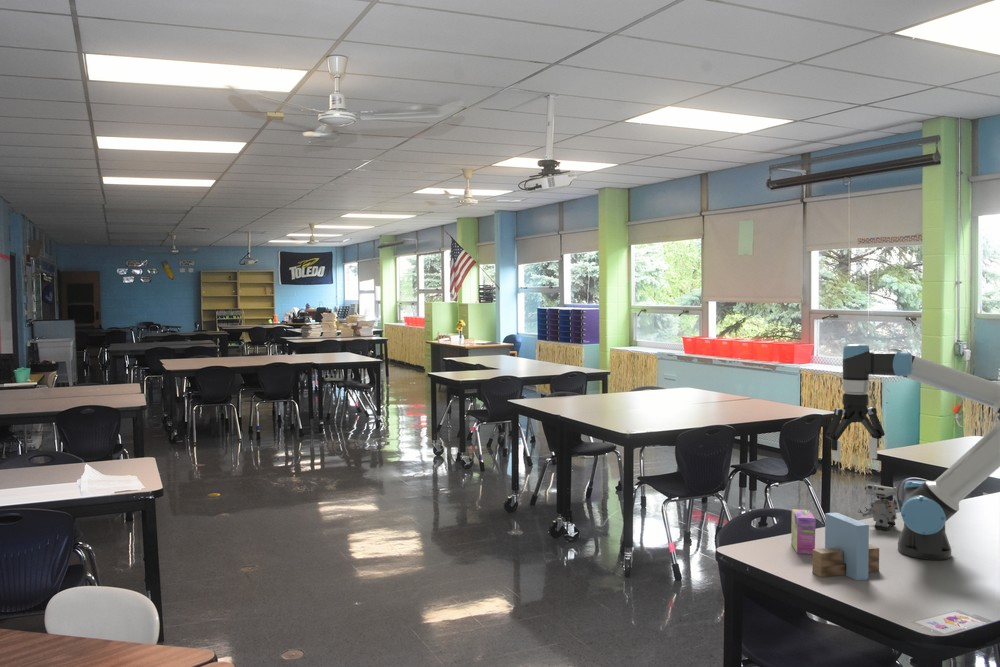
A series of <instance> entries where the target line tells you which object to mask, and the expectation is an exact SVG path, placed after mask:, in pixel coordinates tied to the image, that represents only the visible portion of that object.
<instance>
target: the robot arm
mask: <svg viewBox="0 0 1000 667" xmlns="http://www.w3.org/2000/svg"><path fill="white" fill-rule="evenodd" d="M870 376H891V377H892V376H893V377H903V378H906V379H910V380H912V381H914V382H918V383H921V384H924V385H926V386H929V387H932V388H934V389H938V390H941V391H943V392H947V393H949V394H952V395H955V396H957V397H960V398H963V399H967V400H969V401H971V402H975V403H978V404H980V405H983V406H986V407H989V408H991V409H993V411H994V412H995V413H996V414H999V415H998V416H996V418H995V420H996V422H995V424H996V425H995V426H994V427H993V428H991V430H989V431H988V432H987V433H986V434H985V435H984V436H983V437H982V438H981V439H980V440H978V441H977V442H976V443H975V444H974V445H972V447H970V449H968V450H967V451H966V452H965V453H964V454H962V455H961V456H960V457H959V458H958V459H957V460H956V461H955V462H954V463H953V464H952V465H950V466H949V468H947V469H946V470H944V471H943V473H942V474H941V475H940V476H938V477H937V478H936V479H934V480H926V481H924V480H906V481H905V482H904V487H903V491H904V496H903V497H904V498H903V502H902V505H901V507H900V515H901V519H902V521H903V528H902V530H901V534H900V536H899V539H898V541H897V551H898V552H899V553H901V554H902V555H905V556H908V557H912V558H916V559H920V560H921V559H922V560H930V561H931V560H932V561H943V560H949V559H950V558H952V546H951V545H950V542H949V539H948V536H947V533H946V522H947V521H948V520H949V519H951V517H953V516H954V515H955V514H956V513H958V512H959V510H960V502H961V501H963V499H965V498H966V497H967V496H968V495H969V494H970V493H972V492H973V491H975V489H976V488H978V487H979V485H981V484H982V483H983V482H984V481H985V480H987V479H988V478H989V477H990V476H991V475H992V474H993V473H994V472H996V471H997V470H998V469H999V468H1000V383H998V382H996V381H995V382H994V381H991V380H989V379H985V378H984V377H983V378H982V377H980V376H977V375H973V374H970V373H968V372H964V371H961V370H960V369H959V370H958V369H956V368H952V367H949V366H946V365H943V364H941V363H938V362H935V361H932V360H929V359H926V358H922V357H920V356H915V355H913V354H912V353H911V352H910V351H903V350H900V349H897V348H892V349H887V350H886V351H885V350H883V351H879V350H878V351H875V350H871V349H870V346H869V345H868V344H859V343H858V344H853V343H852V344H846V345H845V346H843V353H842V391H843V393H842V405H843V408H837V407H836V408H834V411H833V417H832V419H831V421H830V423H829V425H828V428H827V430H826V432H825V434H824V435H825V438H826V439H829V440H830V449H831V451H832V460H833V461H836V462H841V453H842V452H841V447H842V446H841V444H842V443H841V440H840V438H841V436H842V435H843V433H844V432H845V431H846V429H847V428H848V426H849V425H851V424H852V423H853V424H854V423H855V424H856V423H861V424H862V425H863V427H864V428H865V430H867V433H869V435H870V437H869V440H868V446H869V447H868V458H870V459H874V460H877V459H878V449H879V446H880V444H879V443H880V442H879V441H880V440H881V439H882V437H884V436H885V435H886V434H885V431H884V428H883V426H882V424H881V422H880V419H879V416H878V414H877V408H876V407H874V406H873V407H872V406H869V402H870V401H869V398H870V397H869V394H868V393H869V392H870V391H869V390H870V388H869V387H870V386H869V384H870V382H869V381H870V379H869V378H870ZM867 415H868V416H867Z"/></svg>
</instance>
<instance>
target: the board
mask: <svg viewBox="0 0 1000 667" xmlns="http://www.w3.org/2000/svg"><path fill="white" fill-rule="evenodd" d="M824 518H825V519H824V523H825V524H824V525H825V526H824V528H825V529H824V534H825V535H824V548H833V547H834V548H836V549H838V550H840V551H843V563H845V564H846V575H845V576H847V577H848V578H850V579H853V580H854V581H867V580H869V572H868V558H869V544H870V543H869V539H870V535H869V534H870V531H869V530H870V525H869V524H868V523H866V522H862V521H860V520H857V519H854V518H852V517H849V516H846V515H844V514H842V513H839V512H827V513H825V517H824Z"/></svg>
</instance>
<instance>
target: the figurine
mask: <svg viewBox="0 0 1000 667" xmlns="http://www.w3.org/2000/svg"><path fill="white" fill-rule="evenodd" d="M864 490H865V495H870V496H875V497H876V499H874V501H873V502H870V508H869V509H868V508H867V507H866V506H865V507H864V509H865V510H864V512H862V510H861V509H860V508H859V509H858V510H857V513H861V514H862V517H864V518H866V516H871V515H872V521H873V522H875V525H874V528H875V530H879V531H880V530H882V531H885V532H886V531H888V530H889V529H890V528H889V526H891V527H894V526H896V520H897V519H898V516H897V511H896V510H899V508H898V507H899V506H898V502H897V499H895V498H894V497H891V498H890V499H886V498H888V497H890V496H897V489H896V488H895V487H890V486H884V485H883V484H881V485H878V484H871V483H866V486H865V487H864ZM892 499H893V500H892Z"/></svg>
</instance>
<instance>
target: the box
mask: <svg viewBox="0 0 1000 667" xmlns="http://www.w3.org/2000/svg"><path fill="white" fill-rule="evenodd" d="M816 523H817V520H816V518H815V516H814V514H813V513H812V512H811V511H810V510H809V509H795V508H794V509H791V536H790V537H791V539H790V542H791V543H790V544H791V546H792V547H793V549H794V551H795V552H797V553H796V554H800V553H809V554H808V555H813V549H816Z"/></svg>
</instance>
